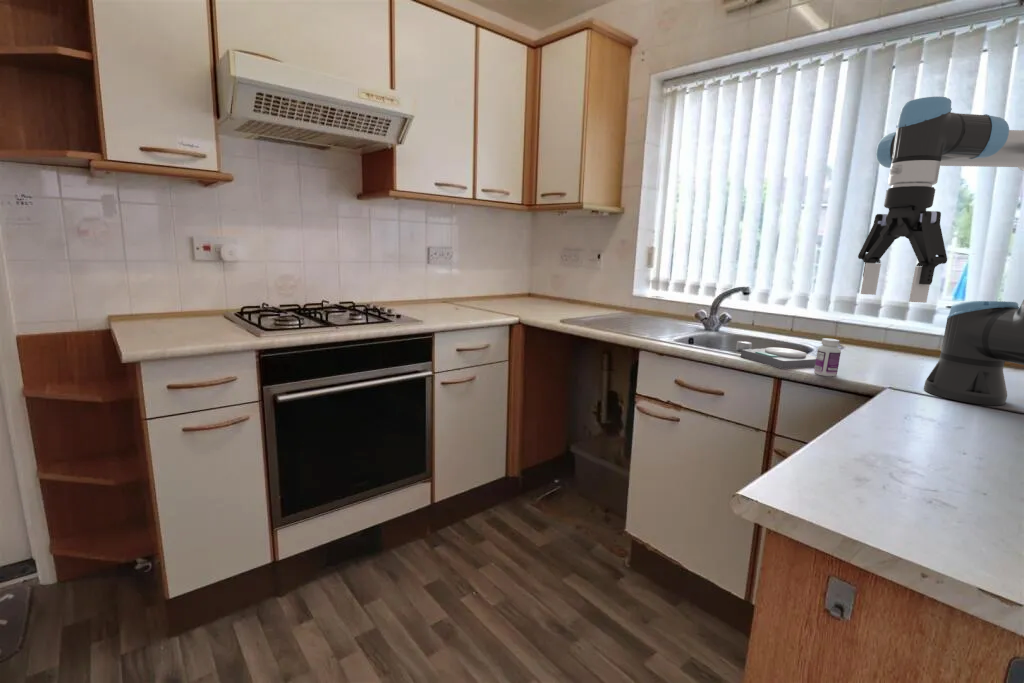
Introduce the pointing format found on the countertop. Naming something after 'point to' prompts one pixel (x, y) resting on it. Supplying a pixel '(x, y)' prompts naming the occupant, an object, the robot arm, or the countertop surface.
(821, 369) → the pill bottle
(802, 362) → the scale
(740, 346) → the spacer
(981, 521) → the countertop surface
